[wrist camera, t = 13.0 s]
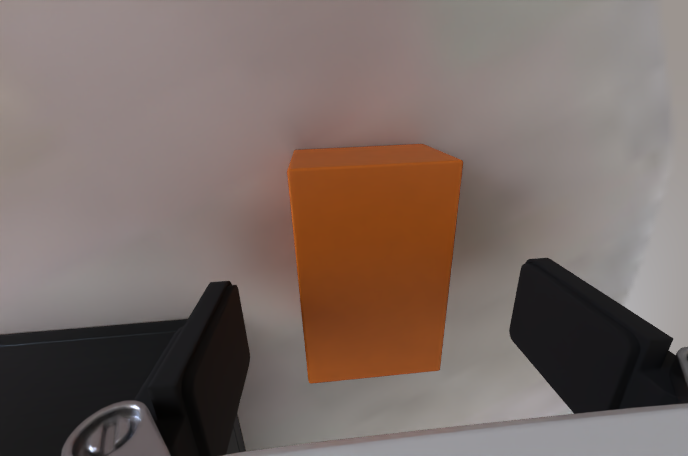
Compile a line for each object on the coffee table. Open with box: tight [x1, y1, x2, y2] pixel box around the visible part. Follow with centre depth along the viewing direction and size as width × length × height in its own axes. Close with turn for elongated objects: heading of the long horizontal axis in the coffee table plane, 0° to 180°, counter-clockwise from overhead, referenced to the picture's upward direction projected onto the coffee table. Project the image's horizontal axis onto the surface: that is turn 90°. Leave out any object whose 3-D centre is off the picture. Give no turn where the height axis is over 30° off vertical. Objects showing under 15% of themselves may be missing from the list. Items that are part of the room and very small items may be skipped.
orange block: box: [287, 144, 463, 383], centre depth 12 cm, size 8×5×4 cm, turn 2°
